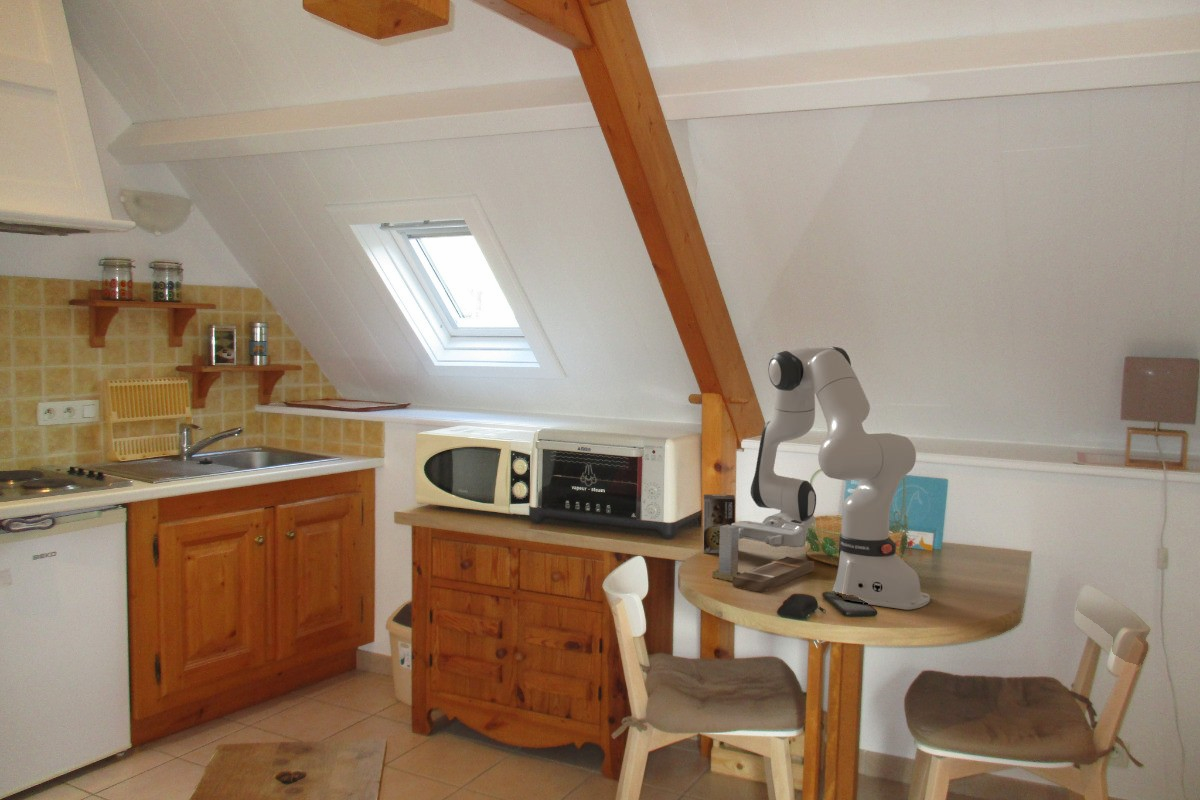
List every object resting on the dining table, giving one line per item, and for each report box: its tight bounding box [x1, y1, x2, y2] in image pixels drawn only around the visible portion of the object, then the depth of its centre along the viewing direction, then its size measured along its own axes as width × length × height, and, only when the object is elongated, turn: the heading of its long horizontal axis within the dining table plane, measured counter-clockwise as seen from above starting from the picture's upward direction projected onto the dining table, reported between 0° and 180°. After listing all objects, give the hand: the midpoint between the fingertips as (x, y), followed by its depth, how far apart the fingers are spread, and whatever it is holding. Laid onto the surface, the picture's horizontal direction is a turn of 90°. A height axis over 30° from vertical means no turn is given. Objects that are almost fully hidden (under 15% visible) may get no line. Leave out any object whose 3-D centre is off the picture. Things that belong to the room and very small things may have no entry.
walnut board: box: [732, 556, 815, 593], centre depth 240 cm, size 8×28×3 cm, turn 141°
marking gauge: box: [711, 525, 742, 582], centre depth 239 cm, size 7×4×14 cm, turn 51°
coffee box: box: [702, 494, 736, 554], centre depth 269 cm, size 9×6×16 cm
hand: (752, 538), depth 248 cm, fingers open, 8 cm apart
